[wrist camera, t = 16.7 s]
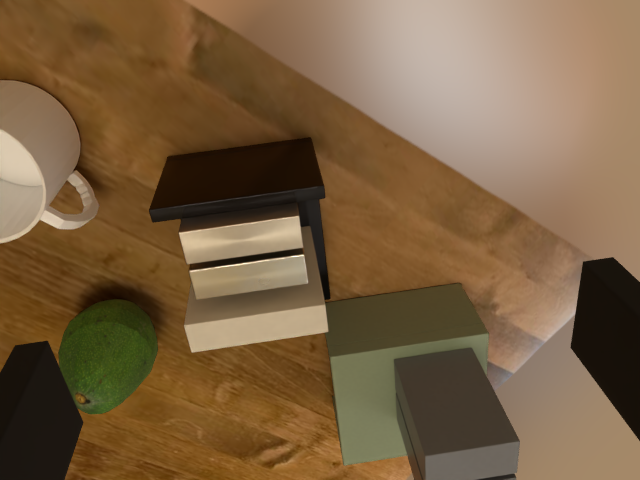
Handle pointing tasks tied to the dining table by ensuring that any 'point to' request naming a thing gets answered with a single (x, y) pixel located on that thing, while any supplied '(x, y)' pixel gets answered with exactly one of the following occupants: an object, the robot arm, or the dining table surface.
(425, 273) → the dining table surface
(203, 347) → the white book
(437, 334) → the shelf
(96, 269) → the dining table surface
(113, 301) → the avocado
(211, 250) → the book rack
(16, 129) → the mug
